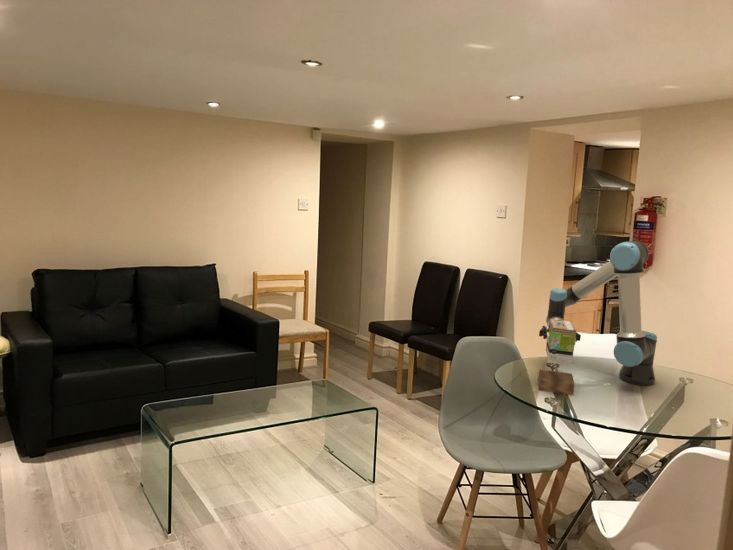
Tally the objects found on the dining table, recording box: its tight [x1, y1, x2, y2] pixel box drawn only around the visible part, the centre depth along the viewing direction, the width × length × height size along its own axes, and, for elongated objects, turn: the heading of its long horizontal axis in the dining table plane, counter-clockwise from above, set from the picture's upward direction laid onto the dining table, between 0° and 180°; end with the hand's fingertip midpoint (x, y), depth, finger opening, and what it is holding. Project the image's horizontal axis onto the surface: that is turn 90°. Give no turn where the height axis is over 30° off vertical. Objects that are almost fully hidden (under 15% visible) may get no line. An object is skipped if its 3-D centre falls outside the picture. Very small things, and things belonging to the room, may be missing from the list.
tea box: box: [545, 319, 577, 364], centre depth 255 cm, size 15×10×15 cm
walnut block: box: [537, 369, 575, 396], centre depth 258 cm, size 14×14×5 cm
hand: (561, 340), depth 251 cm, fingers closed on tea box, 10 cm apart
